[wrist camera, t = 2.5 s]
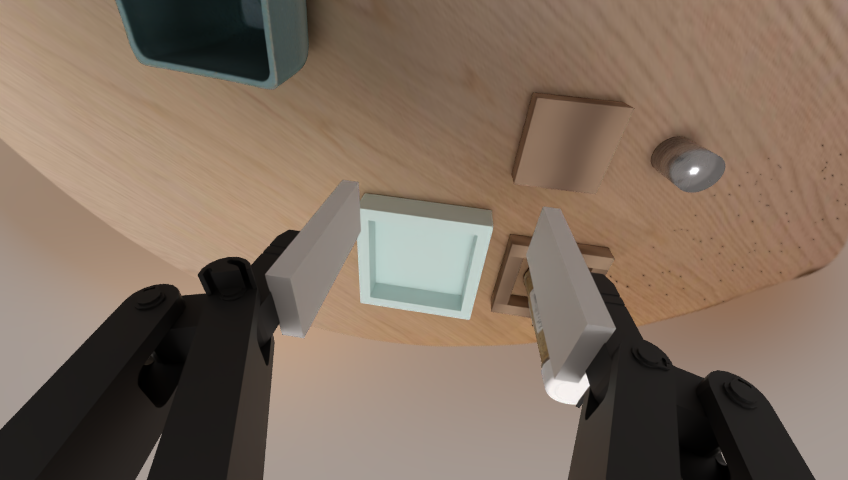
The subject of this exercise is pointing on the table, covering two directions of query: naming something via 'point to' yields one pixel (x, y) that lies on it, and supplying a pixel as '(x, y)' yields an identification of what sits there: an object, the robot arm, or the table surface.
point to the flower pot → (220, 37)
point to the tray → (421, 254)
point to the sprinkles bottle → (553, 387)
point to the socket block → (514, 254)
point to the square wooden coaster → (569, 142)
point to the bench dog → (687, 164)
